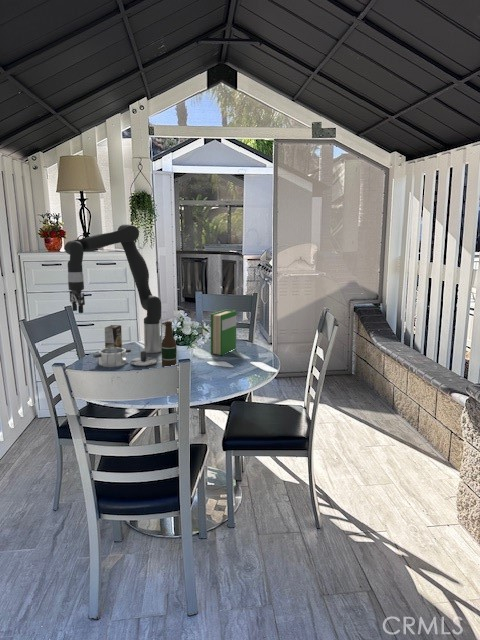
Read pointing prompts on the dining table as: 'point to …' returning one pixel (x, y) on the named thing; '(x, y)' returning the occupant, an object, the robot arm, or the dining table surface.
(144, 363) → the lid
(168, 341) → the beer bottle
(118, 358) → the pot
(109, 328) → the coffee box
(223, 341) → the hardback book
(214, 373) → the dining table surface
